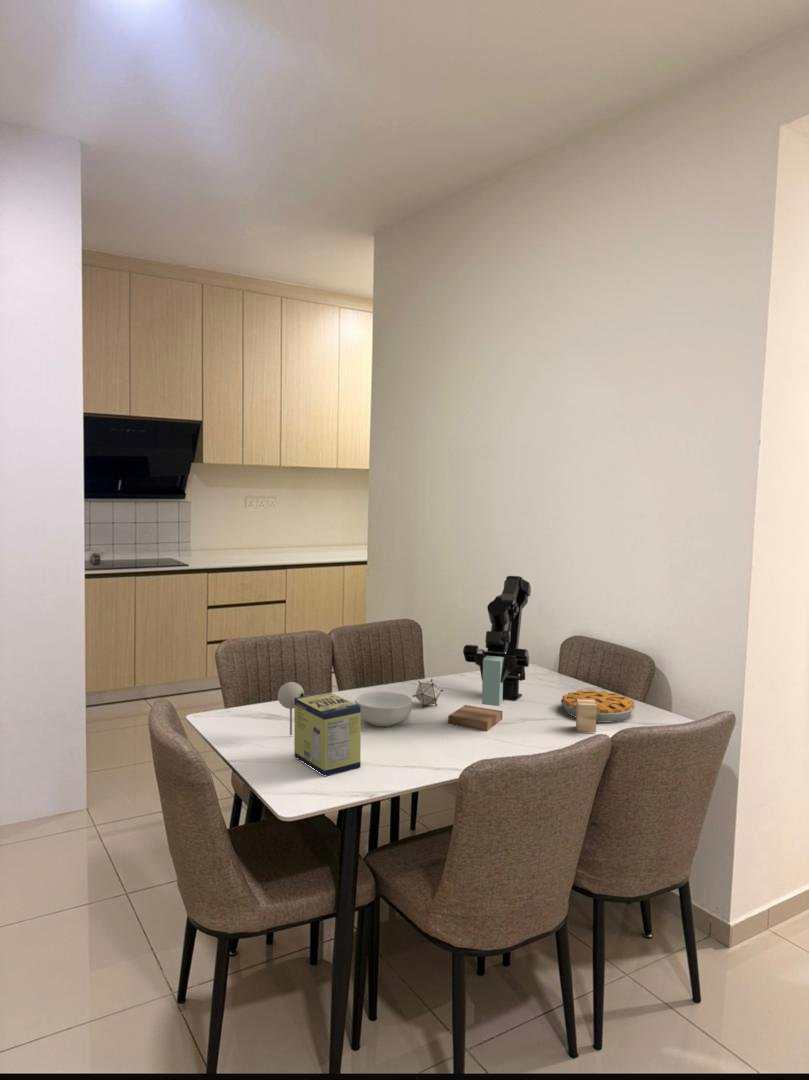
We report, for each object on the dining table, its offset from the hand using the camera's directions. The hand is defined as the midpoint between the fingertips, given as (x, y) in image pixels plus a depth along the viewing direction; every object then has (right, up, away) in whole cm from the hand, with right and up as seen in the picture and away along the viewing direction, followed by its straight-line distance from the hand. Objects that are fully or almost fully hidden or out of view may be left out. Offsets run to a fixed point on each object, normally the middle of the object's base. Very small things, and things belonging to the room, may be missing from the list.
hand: (491, 681), depth 215 cm
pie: (+34, -13, +16) cm, 40 cm away
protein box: (-44, -15, -27) cm, 54 cm away
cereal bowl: (-31, -13, +4) cm, 34 cm away
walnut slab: (-4, -13, +6) cm, 15 cm away
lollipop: (-56, -14, -9) cm, 58 cm away
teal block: (0, -7, +2) cm, 7 cm away
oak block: (+27, -14, 0) cm, 30 cm away
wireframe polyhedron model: (-18, -12, +21) cm, 30 cm away
